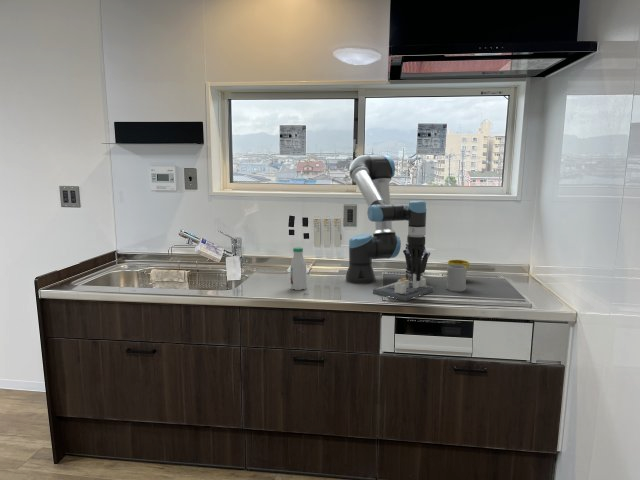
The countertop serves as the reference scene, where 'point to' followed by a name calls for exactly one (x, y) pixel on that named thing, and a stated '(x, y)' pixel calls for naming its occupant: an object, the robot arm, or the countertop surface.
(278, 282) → the countertop surface
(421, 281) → the breaker right
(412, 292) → the panel
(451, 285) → the mug
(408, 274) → the decorative candle
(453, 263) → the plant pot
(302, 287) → the milk bottle
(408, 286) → the breaker mid
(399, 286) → the breaker left
